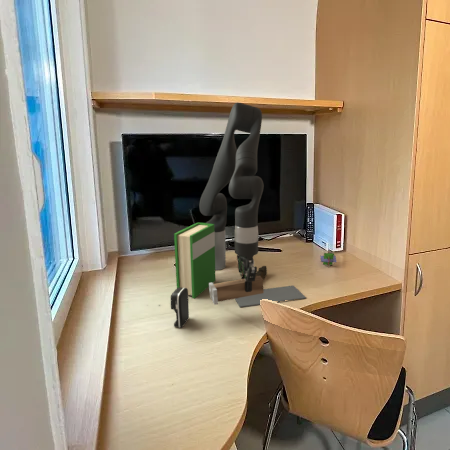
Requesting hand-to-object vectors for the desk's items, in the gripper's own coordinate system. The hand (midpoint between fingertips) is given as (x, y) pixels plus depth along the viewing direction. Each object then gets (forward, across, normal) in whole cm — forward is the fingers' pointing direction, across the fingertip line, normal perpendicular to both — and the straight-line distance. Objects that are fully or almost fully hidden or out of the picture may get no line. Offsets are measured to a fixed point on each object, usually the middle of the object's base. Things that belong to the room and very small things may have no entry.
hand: (246, 288), depth 120 cm
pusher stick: (+2, 0, +2) cm, 3 cm away
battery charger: (+9, 0, +22) cm, 24 cm away
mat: (+9, +10, -12) cm, 18 cm away
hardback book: (+9, +25, +12) cm, 29 cm away
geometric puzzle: (+9, +31, -49) cm, 59 cm away
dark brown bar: (+9, +24, -12) cm, 28 cm away
